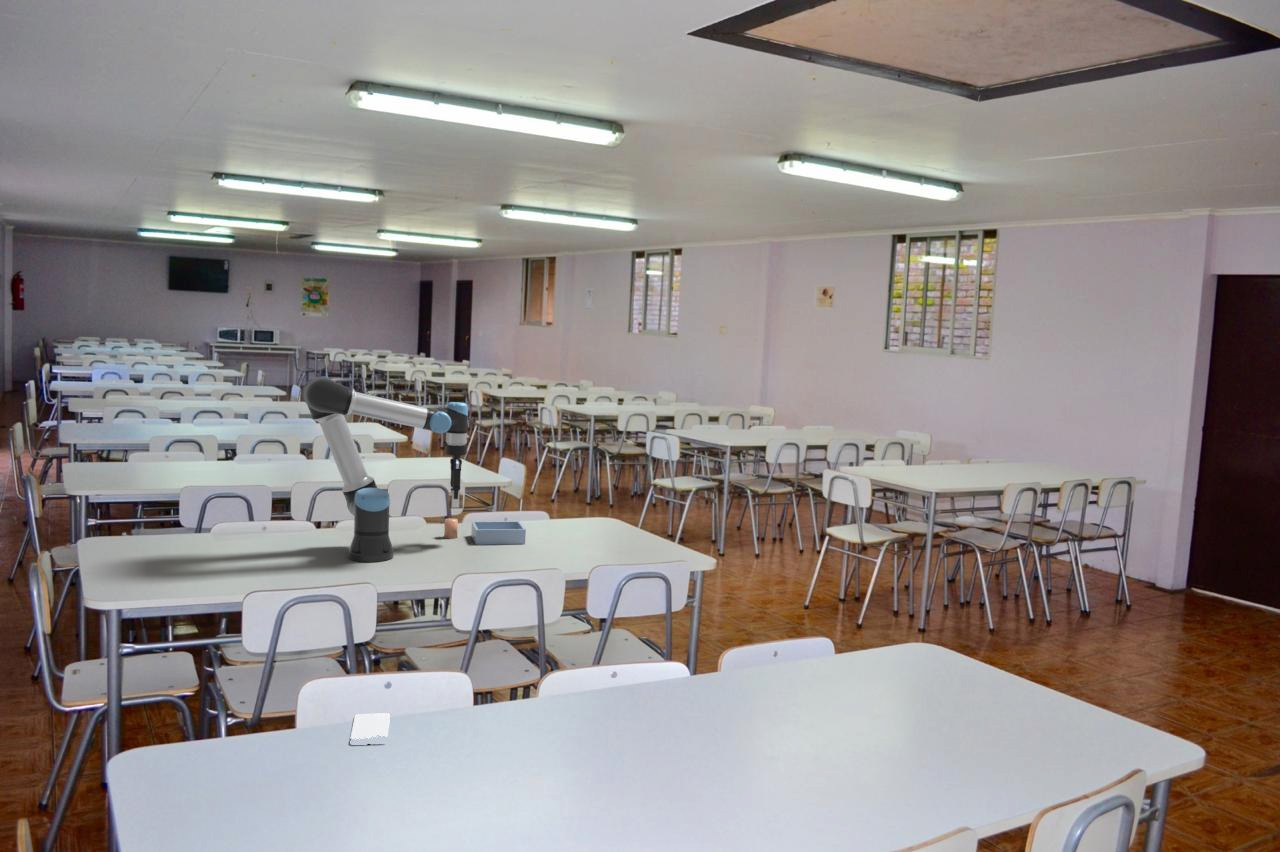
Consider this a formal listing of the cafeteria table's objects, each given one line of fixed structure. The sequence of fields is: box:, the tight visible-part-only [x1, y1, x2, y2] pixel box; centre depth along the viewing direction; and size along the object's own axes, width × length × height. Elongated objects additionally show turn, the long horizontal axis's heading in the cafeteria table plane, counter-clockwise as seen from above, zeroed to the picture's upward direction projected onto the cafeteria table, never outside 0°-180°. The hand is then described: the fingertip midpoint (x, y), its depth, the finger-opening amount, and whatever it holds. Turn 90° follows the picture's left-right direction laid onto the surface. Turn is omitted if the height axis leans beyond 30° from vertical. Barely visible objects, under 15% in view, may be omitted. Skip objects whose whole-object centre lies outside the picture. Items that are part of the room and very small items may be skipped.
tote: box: [470, 520, 527, 546], centre depth 381 cm, size 19×16×6 cm
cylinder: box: [443, 517, 459, 540], centre depth 382 cm, size 5×5×7 cm
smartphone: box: [349, 712, 391, 740], centre depth 202 cm, size 7×1×15 cm
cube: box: [447, 492, 464, 509], centre depth 369 cm, size 5×5×5 cm
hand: (454, 505), depth 369 cm, fingers closed on cube, 5 cm apart
